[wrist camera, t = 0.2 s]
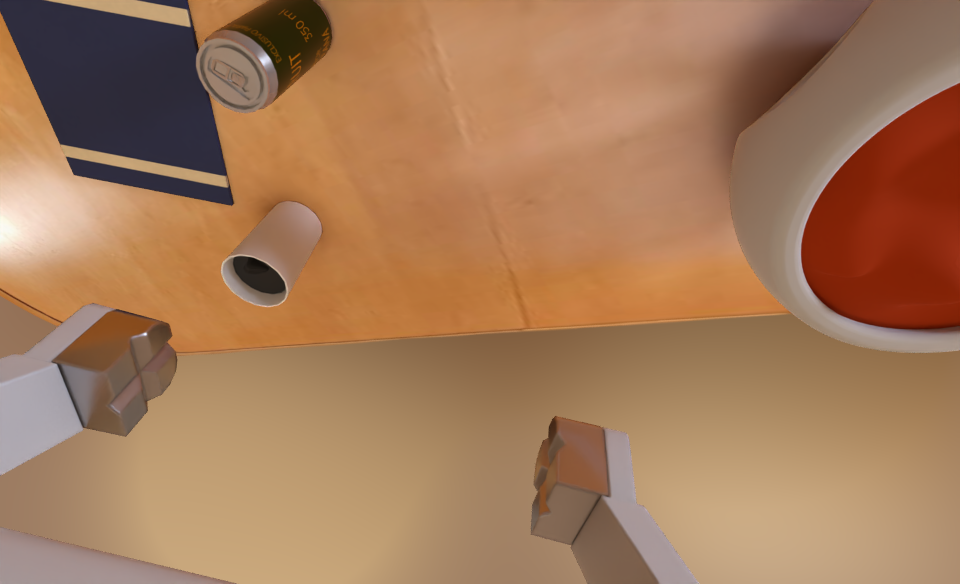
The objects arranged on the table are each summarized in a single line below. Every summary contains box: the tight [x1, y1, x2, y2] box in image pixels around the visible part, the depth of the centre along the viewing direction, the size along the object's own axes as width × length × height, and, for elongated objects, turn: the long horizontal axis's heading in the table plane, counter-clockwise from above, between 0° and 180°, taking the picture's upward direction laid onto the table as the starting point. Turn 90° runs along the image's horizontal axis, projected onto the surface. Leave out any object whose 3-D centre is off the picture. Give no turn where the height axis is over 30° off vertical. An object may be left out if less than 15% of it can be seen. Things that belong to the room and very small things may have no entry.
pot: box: [729, 0, 960, 353], centre depth 35 cm, size 24×24×18 cm
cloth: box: [0, 0, 233, 206], centre depth 51 cm, size 22×18×1 cm
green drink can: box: [196, 0, 332, 113], centre depth 40 cm, size 5×5×12 cm
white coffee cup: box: [221, 201, 322, 307], centre depth 55 cm, size 7×7×10 cm
